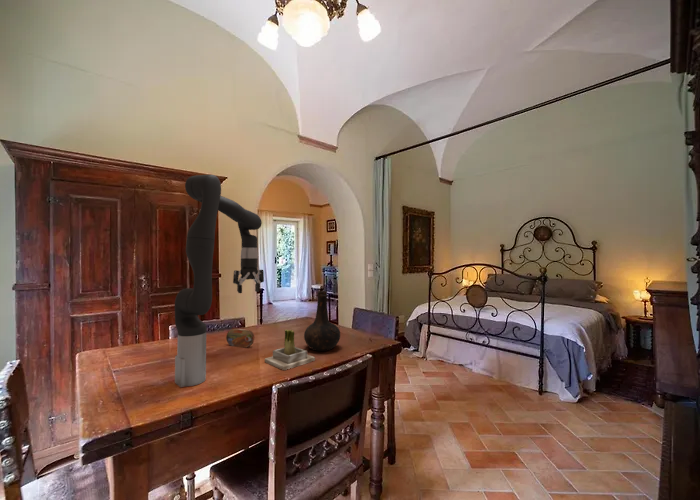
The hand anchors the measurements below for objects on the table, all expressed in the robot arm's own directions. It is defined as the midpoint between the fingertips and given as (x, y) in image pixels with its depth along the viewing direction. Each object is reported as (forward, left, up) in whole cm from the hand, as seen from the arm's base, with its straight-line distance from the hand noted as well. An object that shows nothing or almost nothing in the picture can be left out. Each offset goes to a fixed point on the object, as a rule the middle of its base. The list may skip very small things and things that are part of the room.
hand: (248, 292), depth 142 cm
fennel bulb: (+7, -23, -27) cm, 36 cm away
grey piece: (+7, -23, -28) cm, 37 cm away
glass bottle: (+29, -19, -28) cm, 45 cm away
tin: (+3, +13, -28) cm, 31 cm away
